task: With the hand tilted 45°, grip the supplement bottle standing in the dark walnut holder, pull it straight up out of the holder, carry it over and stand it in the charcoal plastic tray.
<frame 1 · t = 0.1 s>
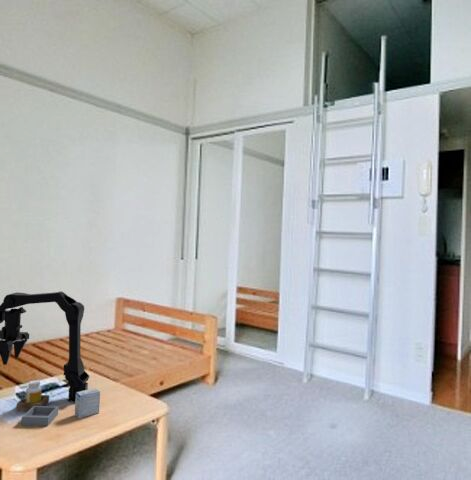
hand: (10, 361, 169), 15 cm above the table, tool pointing down, fingers open, 9 cm apart
supplement bottle: (33, 407, 160), resting in holder
medicine box: (87, 414, 156), on the table
holder: (33, 406, 160), on the table
tray: (40, 419, 150), on the table
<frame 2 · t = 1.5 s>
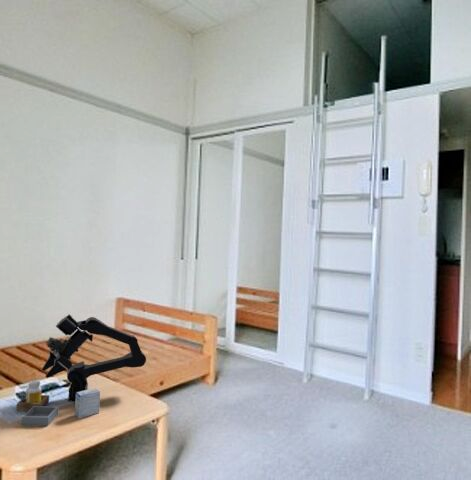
hand: (44, 373, 163), 12 cm above the table, tool tilted 45°, fingers open, 9 cm apart
nothing on the table moved.
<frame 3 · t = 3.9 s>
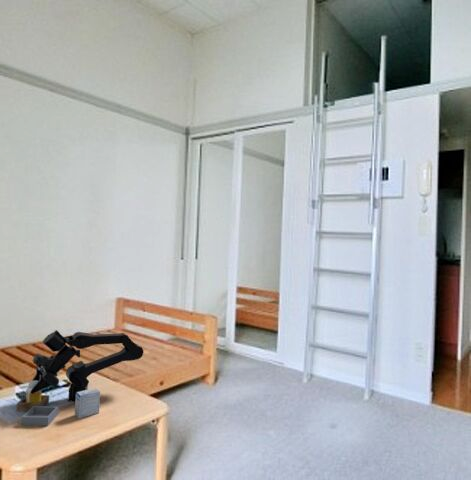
hand: (29, 390, 160), 7 cm above the table, tool tilted 45°, fingers closed on supplement bottle, 5 cm apart
supplement bottle: (33, 407, 160), resting in holder, touching gripper
everything else where it was.
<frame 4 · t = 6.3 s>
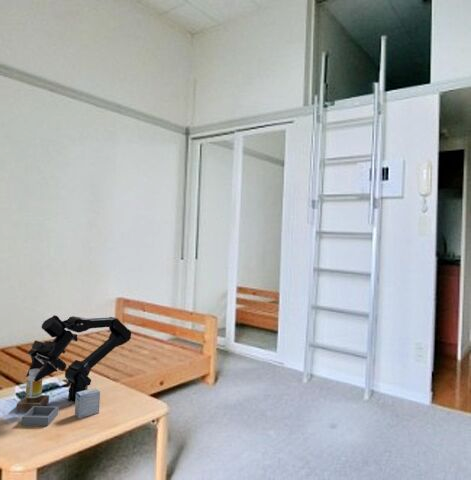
hand: (31, 379, 153), 13 cm above the table, tool tilted 45°, fingers closed on supplement bottle, 5 cm apart
supplement bottle: (33, 396, 154), point 7 cm above the table, touching gripper
everything else where it was.
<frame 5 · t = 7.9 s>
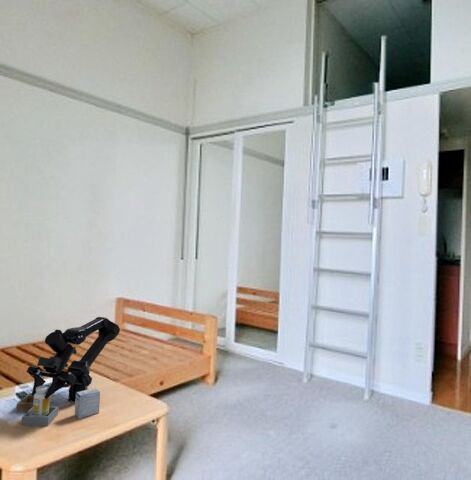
hand: (38, 397, 148), 9 cm above the table, tool tilted 45°, fingers closed on supplement bottle, 5 cm apart
supplement bottle: (40, 414, 150), point 2 cm above the table, touching gripper
everything else where it was.
when the fingers open (8 cm above the table, at t = 8.9 s): supplement bottle stays where it is, resting on tray.
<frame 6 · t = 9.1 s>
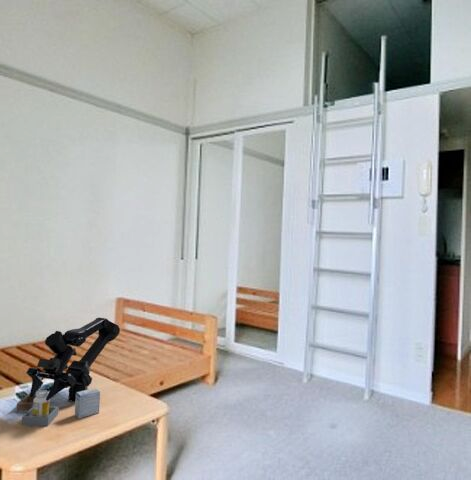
hand: (38, 398, 148), 8 cm above the table, tool tilted 45°, fingers open, 7 cm apart
supplement bottle: (40, 418, 150), resting on tray
everything else where it was.
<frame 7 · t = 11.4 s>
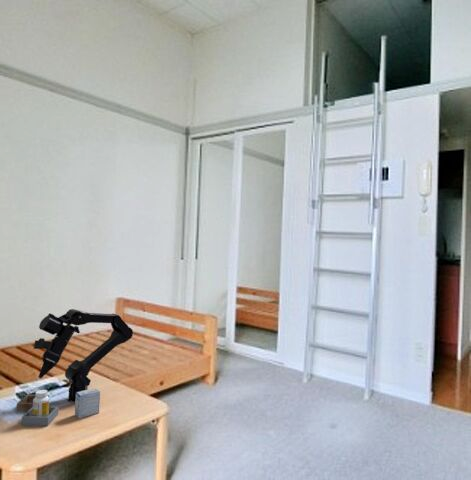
hand: (40, 376, 158), 13 cm above the table, tool tilted 30°, fingers open, 9 cm apart
nothing on the table moved.
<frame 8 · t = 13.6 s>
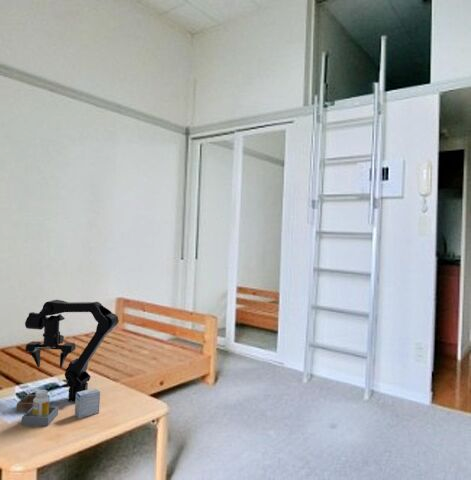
hand: (49, 367, 171), 12 cm above the table, tool pointing down, fingers open, 9 cm apart
nothing on the table moved.
at the end: supplement bottle 0.2 cm off-centre on the tray, point 0.4 cm above the tray's base; supplement bottle tilted 0°; the gripper is holding nothing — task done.
